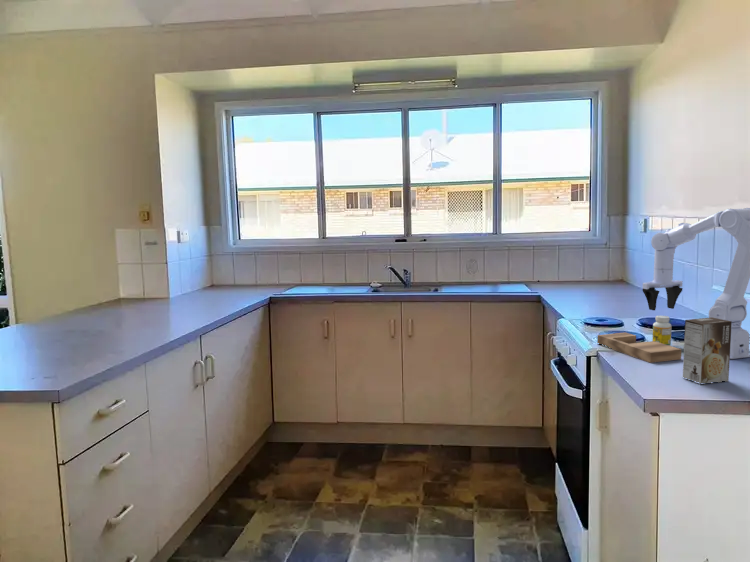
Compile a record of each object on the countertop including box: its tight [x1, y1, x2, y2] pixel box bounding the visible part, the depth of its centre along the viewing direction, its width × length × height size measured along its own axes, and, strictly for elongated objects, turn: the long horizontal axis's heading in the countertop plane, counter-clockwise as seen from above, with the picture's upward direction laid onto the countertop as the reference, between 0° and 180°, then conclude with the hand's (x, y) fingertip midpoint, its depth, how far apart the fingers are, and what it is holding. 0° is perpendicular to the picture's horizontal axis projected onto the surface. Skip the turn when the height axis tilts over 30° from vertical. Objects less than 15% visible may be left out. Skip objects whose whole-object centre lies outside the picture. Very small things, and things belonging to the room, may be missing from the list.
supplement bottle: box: [651, 315, 672, 346], centre depth 191 cm, size 5×5×10 cm
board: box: [596, 331, 682, 364], centre depth 185 cm, size 24×11×3 cm, turn 17°
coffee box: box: [682, 317, 732, 384], centre depth 154 cm, size 9×6×16 cm
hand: (661, 309), depth 198 cm, fingers open, 7 cm apart
